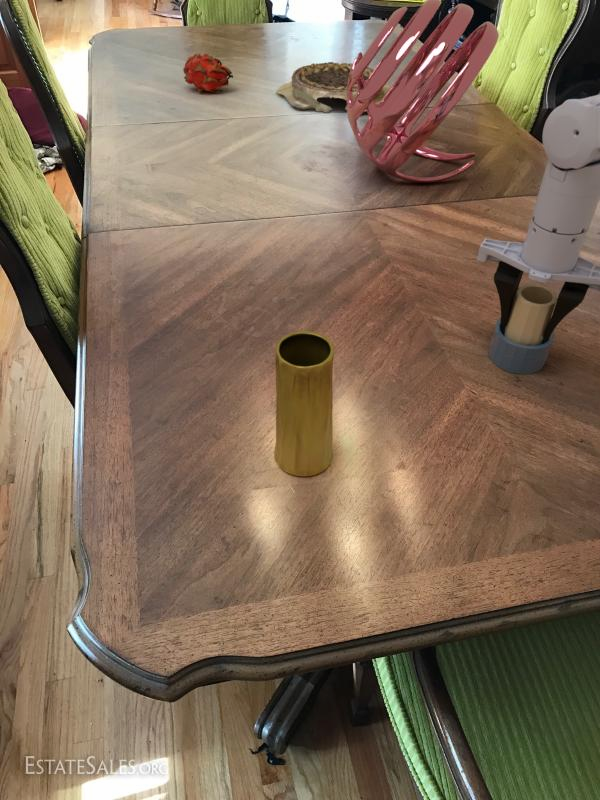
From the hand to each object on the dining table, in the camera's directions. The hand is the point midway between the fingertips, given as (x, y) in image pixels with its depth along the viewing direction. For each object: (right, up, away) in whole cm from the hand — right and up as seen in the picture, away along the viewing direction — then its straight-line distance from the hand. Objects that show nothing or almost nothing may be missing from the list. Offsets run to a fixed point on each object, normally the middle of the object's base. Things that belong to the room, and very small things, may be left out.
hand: (525, 327), depth 73 cm
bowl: (0, -3, +3) cm, 4 cm away
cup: (0, -1, +1) cm, 1 cm away
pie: (-18, +62, +71) cm, 96 cm away
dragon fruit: (-48, +65, +73) cm, 109 cm away
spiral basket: (-6, +35, +43) cm, 56 cm away
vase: (-26, -14, -8) cm, 31 cm away
